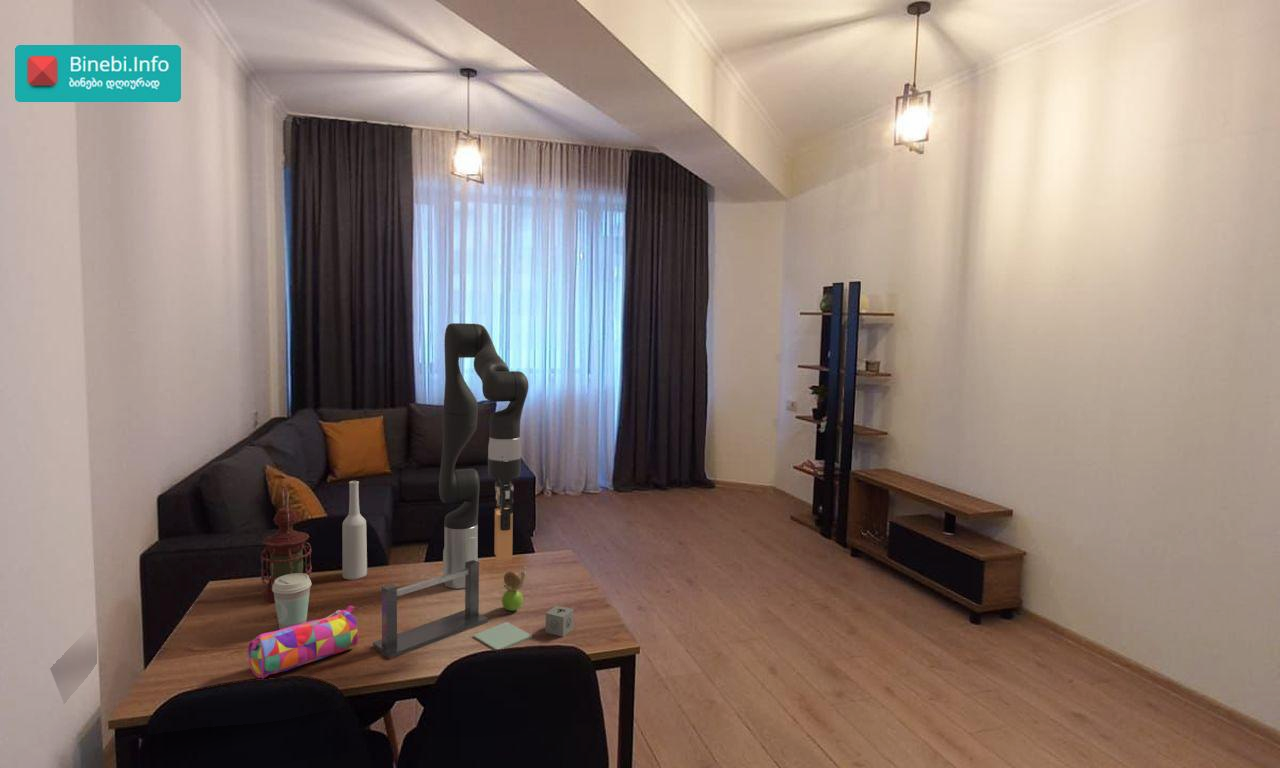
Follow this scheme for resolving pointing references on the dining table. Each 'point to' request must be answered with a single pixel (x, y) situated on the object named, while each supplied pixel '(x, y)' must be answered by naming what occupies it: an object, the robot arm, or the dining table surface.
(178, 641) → the dining table surface
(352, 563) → the bottle
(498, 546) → the c link
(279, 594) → the coffee cup
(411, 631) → the rail stand
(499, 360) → the robot arm
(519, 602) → the snail figurine
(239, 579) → the dining table surface
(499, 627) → the felt mat
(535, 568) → the dining table surface
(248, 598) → the dining table surface
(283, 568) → the lantern
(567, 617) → the dice cube
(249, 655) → the pencil case
